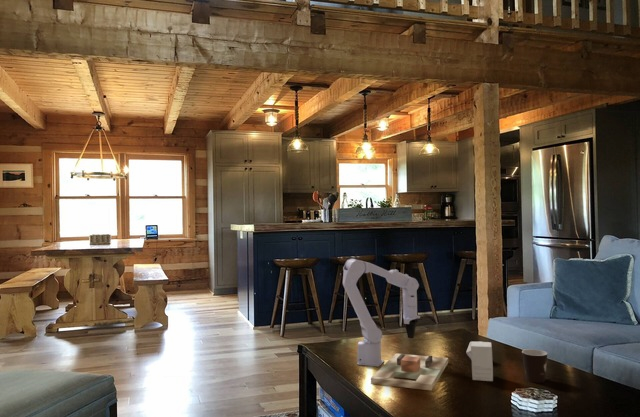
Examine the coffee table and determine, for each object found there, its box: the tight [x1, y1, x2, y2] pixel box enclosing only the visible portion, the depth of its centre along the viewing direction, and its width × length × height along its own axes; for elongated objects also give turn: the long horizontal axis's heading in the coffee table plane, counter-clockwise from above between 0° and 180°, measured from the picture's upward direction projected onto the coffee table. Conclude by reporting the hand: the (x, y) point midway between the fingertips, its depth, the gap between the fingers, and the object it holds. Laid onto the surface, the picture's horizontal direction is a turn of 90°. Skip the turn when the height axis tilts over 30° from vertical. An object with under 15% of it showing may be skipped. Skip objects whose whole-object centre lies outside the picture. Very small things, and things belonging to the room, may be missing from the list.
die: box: [465, 341, 483, 361], centre depth 208 cm, size 8×9×10 cm
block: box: [401, 356, 420, 372], centre depth 192 cm, size 6×6×4 cm
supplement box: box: [471, 341, 494, 382], centre depth 187 cm, size 7×7×13 cm
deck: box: [370, 353, 449, 391], centre depth 195 cm, size 22×35×4 cm, turn 157°
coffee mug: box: [521, 348, 548, 384], centre depth 184 cm, size 12×9×10 cm
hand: (410, 337), depth 211 cm, fingers closed
